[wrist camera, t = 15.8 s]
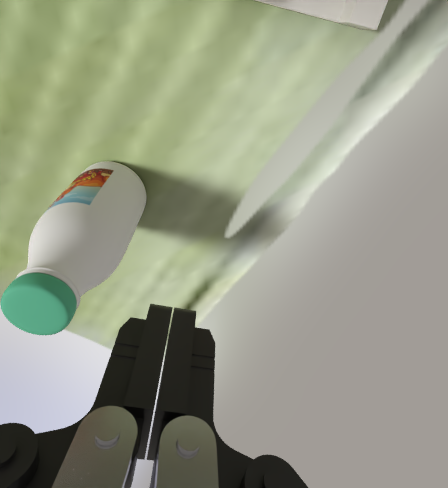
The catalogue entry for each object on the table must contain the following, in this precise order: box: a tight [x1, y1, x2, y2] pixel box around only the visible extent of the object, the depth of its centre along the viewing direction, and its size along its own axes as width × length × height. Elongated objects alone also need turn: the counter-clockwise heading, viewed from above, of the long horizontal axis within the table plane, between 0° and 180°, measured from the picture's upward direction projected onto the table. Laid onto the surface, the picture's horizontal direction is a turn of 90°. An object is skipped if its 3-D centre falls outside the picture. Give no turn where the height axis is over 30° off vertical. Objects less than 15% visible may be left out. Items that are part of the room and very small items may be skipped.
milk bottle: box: [1, 161, 147, 335], centre depth 32 cm, size 8×8×20 cm
